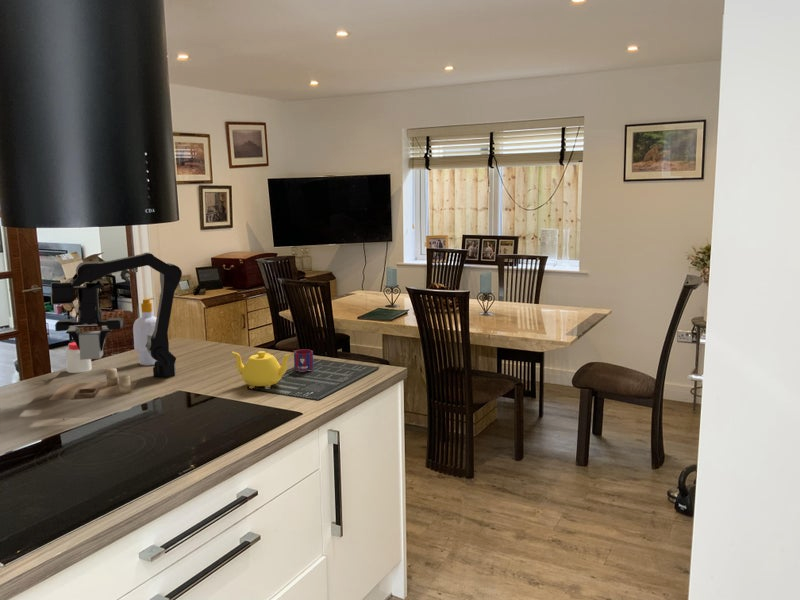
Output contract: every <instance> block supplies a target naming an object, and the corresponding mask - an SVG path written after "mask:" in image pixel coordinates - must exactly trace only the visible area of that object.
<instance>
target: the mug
mask: <svg viewBox="0 0 800 600" xmlns="http://www.w3.org/2000/svg"><path fill="white" fill-rule="evenodd" d="M293 366H294V369H295V370H298V371H308V370H312V369H313V370H314V350H311V349H305V348H304V349H297V350H295V351H293ZM295 370H294V371H295Z"/></svg>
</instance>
